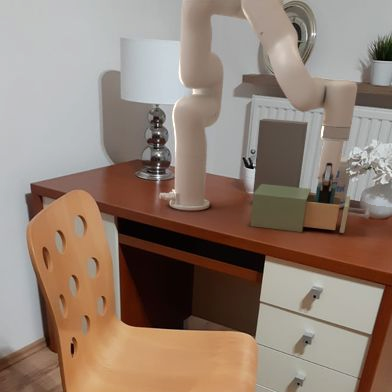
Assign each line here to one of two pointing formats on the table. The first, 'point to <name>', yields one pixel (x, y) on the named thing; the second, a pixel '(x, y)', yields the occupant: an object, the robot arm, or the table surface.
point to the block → (331, 193)
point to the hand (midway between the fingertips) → (324, 202)
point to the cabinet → (279, 207)
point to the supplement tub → (341, 181)
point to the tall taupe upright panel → (280, 153)
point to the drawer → (328, 213)
